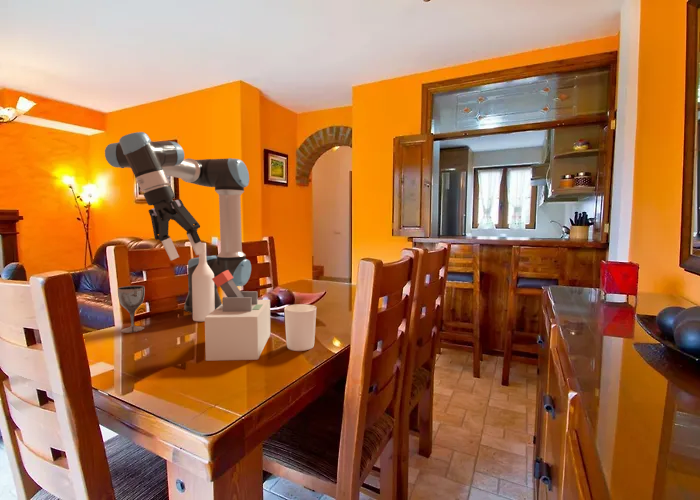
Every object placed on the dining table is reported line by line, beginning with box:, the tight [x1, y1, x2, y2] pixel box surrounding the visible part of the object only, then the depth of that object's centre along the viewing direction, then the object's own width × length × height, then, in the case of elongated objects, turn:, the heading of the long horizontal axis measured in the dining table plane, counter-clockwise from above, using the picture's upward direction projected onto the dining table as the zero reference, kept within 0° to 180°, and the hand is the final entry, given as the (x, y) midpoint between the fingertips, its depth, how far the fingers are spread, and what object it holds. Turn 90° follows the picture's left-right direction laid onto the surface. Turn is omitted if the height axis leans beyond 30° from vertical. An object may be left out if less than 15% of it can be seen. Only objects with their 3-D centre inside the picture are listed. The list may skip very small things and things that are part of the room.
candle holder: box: [283, 303, 317, 352], centre depth 105 cm, size 10×10×12 cm
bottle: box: [192, 242, 215, 322], centre depth 134 cm, size 8×8×30 cm
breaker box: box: [204, 290, 271, 362], centre depth 104 cm, size 22×14×16 cm, turn 4°
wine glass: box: [117, 284, 146, 334], centre depth 120 cm, size 8×8×15 cm
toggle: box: [212, 270, 244, 297], centre depth 103 cm, size 6×4×11 cm
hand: (187, 256), depth 104 cm, fingers open, 13 cm apart
